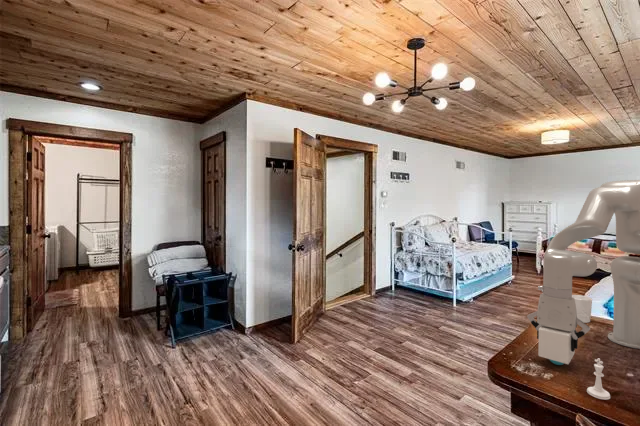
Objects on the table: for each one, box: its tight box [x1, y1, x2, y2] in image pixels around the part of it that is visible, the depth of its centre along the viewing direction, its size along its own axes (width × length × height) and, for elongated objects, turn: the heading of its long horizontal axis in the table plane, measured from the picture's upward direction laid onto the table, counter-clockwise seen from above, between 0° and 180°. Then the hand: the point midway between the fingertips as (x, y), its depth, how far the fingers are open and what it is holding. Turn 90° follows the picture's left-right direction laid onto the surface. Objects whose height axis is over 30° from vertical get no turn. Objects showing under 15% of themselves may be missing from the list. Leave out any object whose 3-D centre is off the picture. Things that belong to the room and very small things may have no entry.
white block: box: [537, 326, 576, 365], centre depth 106 cm, size 10×8×9 cm
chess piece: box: [586, 358, 611, 401], centre depth 90 cm, size 5×5×10 cm
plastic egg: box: [548, 359, 565, 366], centre depth 107 cm, size 5×5×5 cm
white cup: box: [572, 294, 593, 324], centre depth 144 cm, size 8×8×10 cm
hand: (556, 345), depth 106 cm, fingers closed on white block, 7 cm apart
